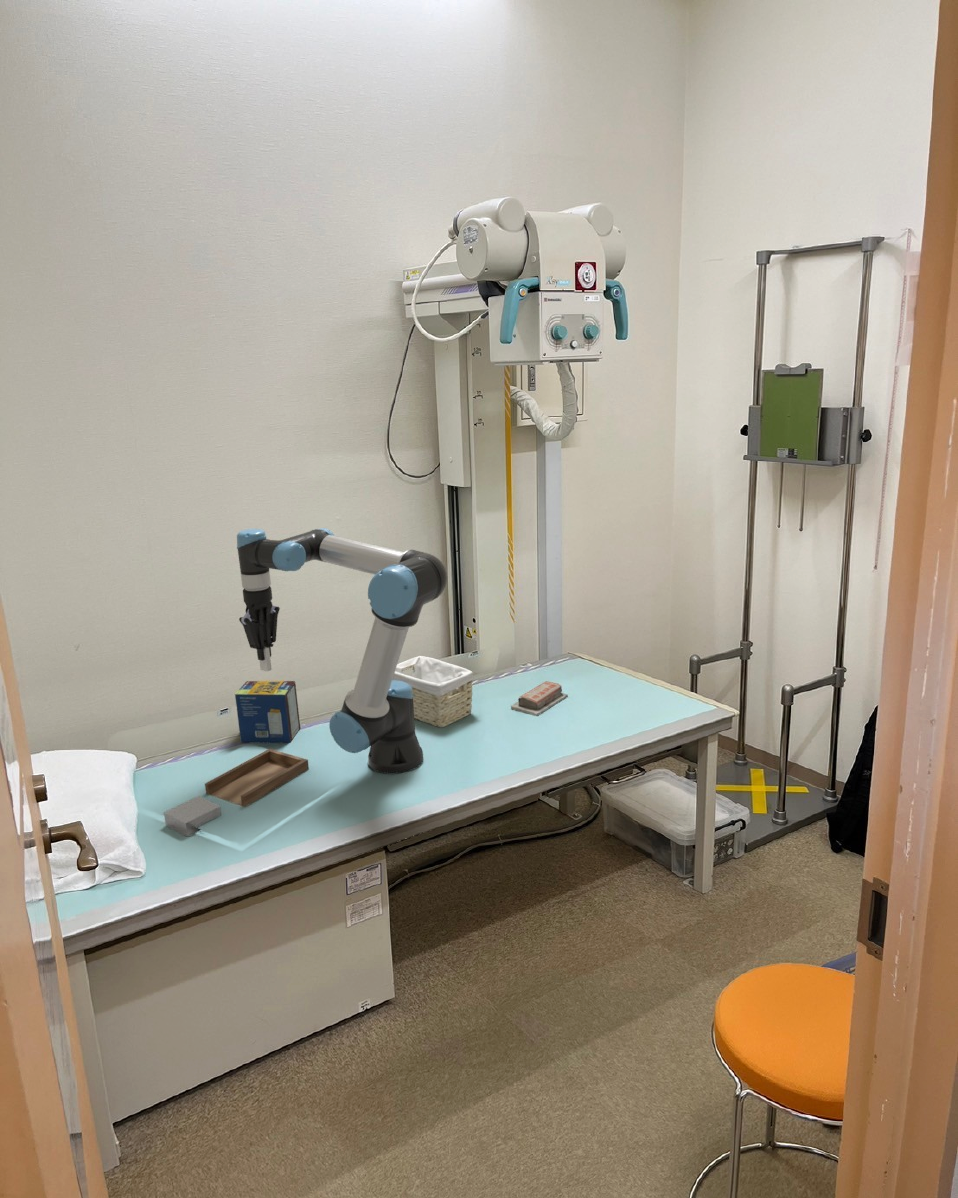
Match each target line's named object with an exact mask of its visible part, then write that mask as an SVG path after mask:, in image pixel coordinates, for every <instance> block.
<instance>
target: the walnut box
mask: <svg viewBox="0 0 958 1198" xmlns="http://www.w3.org/2000/svg"><path fill="white" fill-rule="evenodd" d="M306 771H309V760H308V759H307V758H303V757H300V756H297V755H292V754H289V753H285V752H283V751H278V750H276V749H275V750H274V749H272V748H268V749H266V750H265V751H262V752H260V753H259V754H257V755H255V756H254V757H252V758H250V759H248V760H246V761H244V762H242V763H241V764H239V765H237V766H235V767H233V768H232V769H230V770H227V771H226V772H223V773H222V774H220V775H219V776H217V777H215V778H213V779H211V780H209V781H207V782H205V783H204V788H205V794H206V795H209V796H211V797H215V798H217V799H221V800H224V801H226V802H230V803H232V804H235V805H239V806H242V807H245V808H246V807H248V806H249V805H251V804H253V803H254V802H256V801H258V800H260V799H261V798H263V797H265V796H266V795H268V794H270V793H271V792H273V791H275V790H277V789H278V788H280V787H281V786H283V785H285V784H286V783H288V782H290V781H291V780H293V779H295V778H297V777H298V776H300V775H302V774H303V773H305V772H306Z"/></svg>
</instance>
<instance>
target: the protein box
mask: <svg viewBox="0 0 958 1198" xmlns="http://www.w3.org/2000/svg"><path fill="white" fill-rule="evenodd" d="M234 697H235V707H236V713H237V721H238V731H239V738H240V743H248V742H254V743H255V742H260V743H263V742H264V743H263V744H267V742H268V744H291V743H292V741H293V740H294V738H295V736H296V735H297V734H298V732H299V730H300V729H301V722H300V713H299V703H298V694H297V685H296V681H295V680H286V681H284V680H275V681H273V680H271V681H270V680H269V681H268V680H261V681H260V680H257V681H256V680H250V681H249V680H247V681H245V683H243V685H242V686H241V687H240V688H238V690H237V691H236V692H235V693H234ZM254 743H253V744H254ZM260 743H259V744H260ZM255 744H256V743H255Z"/></svg>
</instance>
